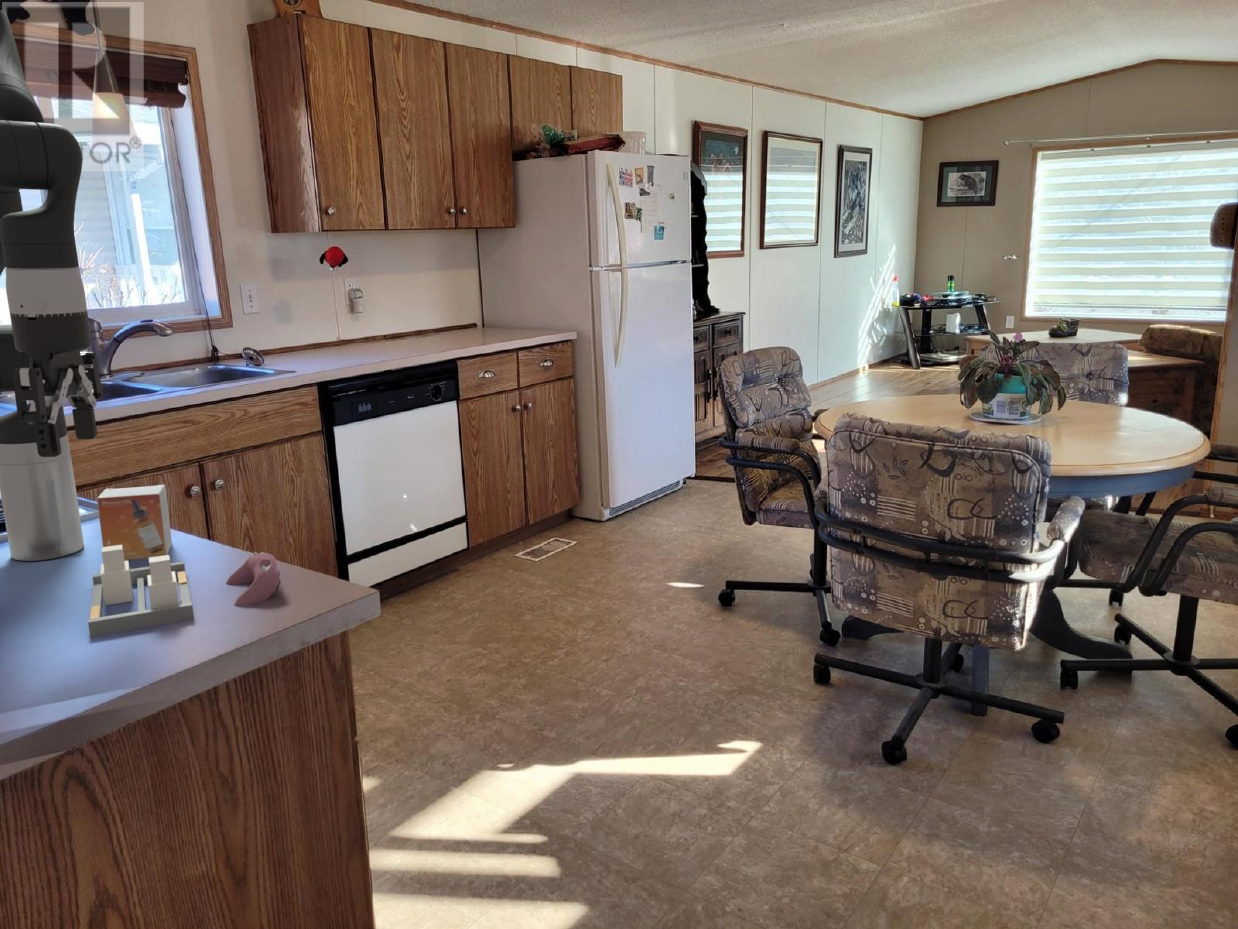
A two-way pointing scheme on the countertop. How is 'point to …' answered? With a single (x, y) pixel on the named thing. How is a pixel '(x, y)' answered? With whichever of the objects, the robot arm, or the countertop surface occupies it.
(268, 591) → the video game controller
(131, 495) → the small box
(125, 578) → the tab
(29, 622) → the countertop surface
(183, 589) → the switch bank
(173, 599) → the tab
